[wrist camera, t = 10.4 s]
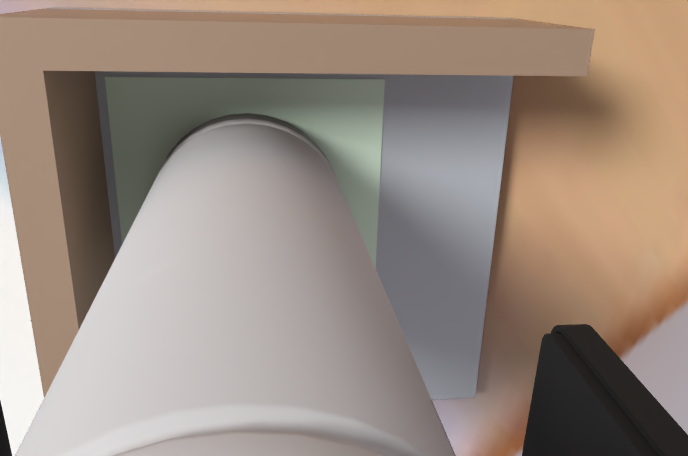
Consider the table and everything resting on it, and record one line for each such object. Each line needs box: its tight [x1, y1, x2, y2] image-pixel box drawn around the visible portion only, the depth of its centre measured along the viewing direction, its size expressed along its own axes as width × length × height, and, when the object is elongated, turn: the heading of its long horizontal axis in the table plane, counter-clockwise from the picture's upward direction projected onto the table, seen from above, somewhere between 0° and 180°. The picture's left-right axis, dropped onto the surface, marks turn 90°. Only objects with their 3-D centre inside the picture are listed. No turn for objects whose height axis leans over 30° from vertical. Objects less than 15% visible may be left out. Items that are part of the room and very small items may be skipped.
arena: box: [0, 8, 595, 400], centre depth 21 cm, size 15×15×6 cm
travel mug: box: [15, 113, 456, 456], centre depth 13 cm, size 6×7×20 cm
